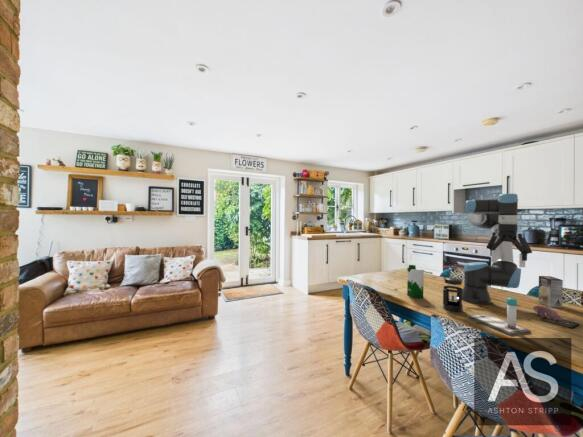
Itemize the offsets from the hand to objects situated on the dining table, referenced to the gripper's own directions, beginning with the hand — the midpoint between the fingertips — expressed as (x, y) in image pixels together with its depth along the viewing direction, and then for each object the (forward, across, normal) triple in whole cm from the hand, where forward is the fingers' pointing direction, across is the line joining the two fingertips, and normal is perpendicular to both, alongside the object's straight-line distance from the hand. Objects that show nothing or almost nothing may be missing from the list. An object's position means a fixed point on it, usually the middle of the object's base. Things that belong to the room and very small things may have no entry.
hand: (507, 264), depth 130 cm
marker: (+25, +14, -16) cm, 33 cm away
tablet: (+27, +7, -16) cm, 32 cm away
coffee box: (+27, -8, +44) cm, 52 cm away
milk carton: (+27, -39, -23) cm, 53 cm away
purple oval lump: (+27, +6, +18) cm, 33 cm away
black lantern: (+27, -14, -20) cm, 36 cm away
